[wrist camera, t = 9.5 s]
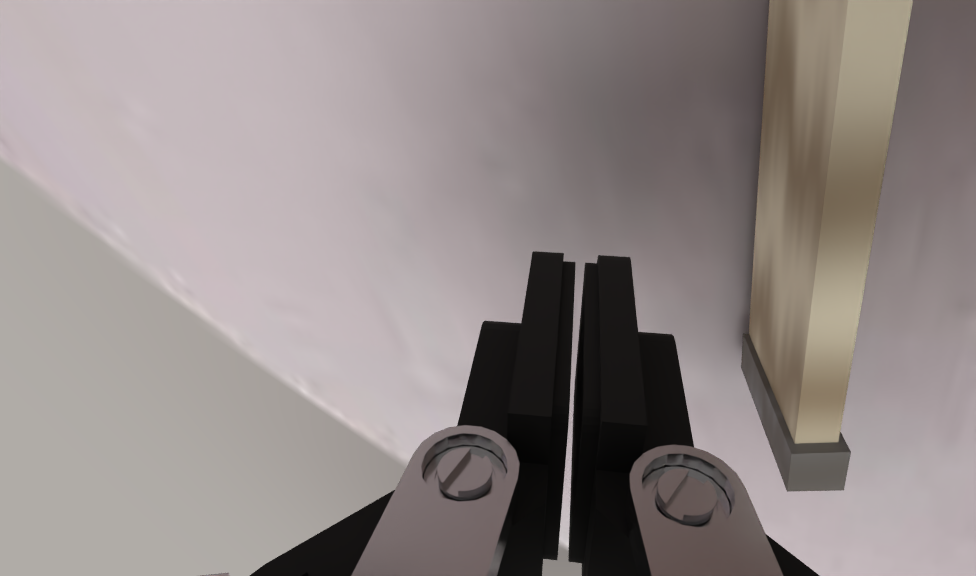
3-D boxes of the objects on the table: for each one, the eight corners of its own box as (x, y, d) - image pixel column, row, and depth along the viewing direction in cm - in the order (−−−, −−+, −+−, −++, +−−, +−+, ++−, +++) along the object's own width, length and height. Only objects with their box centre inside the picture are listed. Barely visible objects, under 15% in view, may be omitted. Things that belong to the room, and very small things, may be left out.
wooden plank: (781, -341, 14) (902, -478, 9) (859, -360, 14) (1028, -512, 9) (741, 367, 24) (787, 491, 19) (785, 365, 24) (844, 490, 19)
